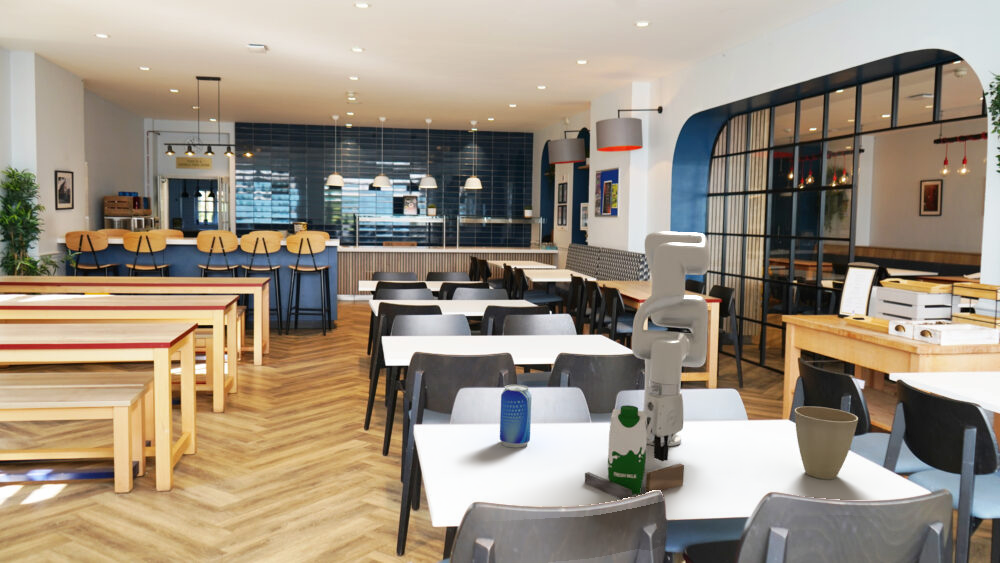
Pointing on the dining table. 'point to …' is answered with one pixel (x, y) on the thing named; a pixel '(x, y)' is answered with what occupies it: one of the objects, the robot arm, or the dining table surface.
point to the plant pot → (824, 439)
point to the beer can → (515, 416)
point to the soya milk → (627, 447)
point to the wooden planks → (654, 481)
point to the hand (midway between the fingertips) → (660, 459)
